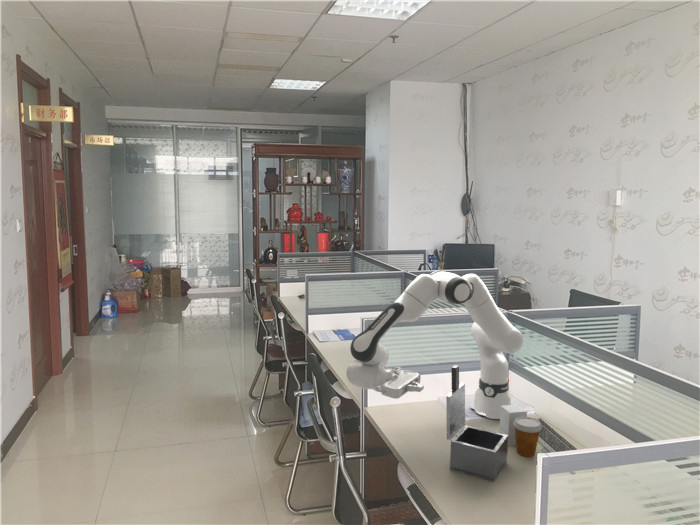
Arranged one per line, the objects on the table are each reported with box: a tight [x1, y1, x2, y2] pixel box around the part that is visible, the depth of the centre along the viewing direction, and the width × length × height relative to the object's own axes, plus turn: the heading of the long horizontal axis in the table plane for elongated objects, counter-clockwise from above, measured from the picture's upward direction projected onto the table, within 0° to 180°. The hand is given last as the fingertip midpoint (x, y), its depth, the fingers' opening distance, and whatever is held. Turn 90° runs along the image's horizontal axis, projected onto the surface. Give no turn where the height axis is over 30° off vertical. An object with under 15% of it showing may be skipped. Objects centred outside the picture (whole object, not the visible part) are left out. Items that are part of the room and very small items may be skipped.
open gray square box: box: [449, 424, 509, 483], centre depth 192 cm, size 15×15×10 cm
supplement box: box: [498, 404, 528, 446], centre depth 212 cm, size 7×7×13 cm
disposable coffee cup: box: [514, 416, 543, 459], centre depth 201 cm, size 10×10×12 cm
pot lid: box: [445, 364, 466, 441], centre depth 194 cm, size 15×23×2 cm
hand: (422, 388), depth 200 cm, fingers closed
